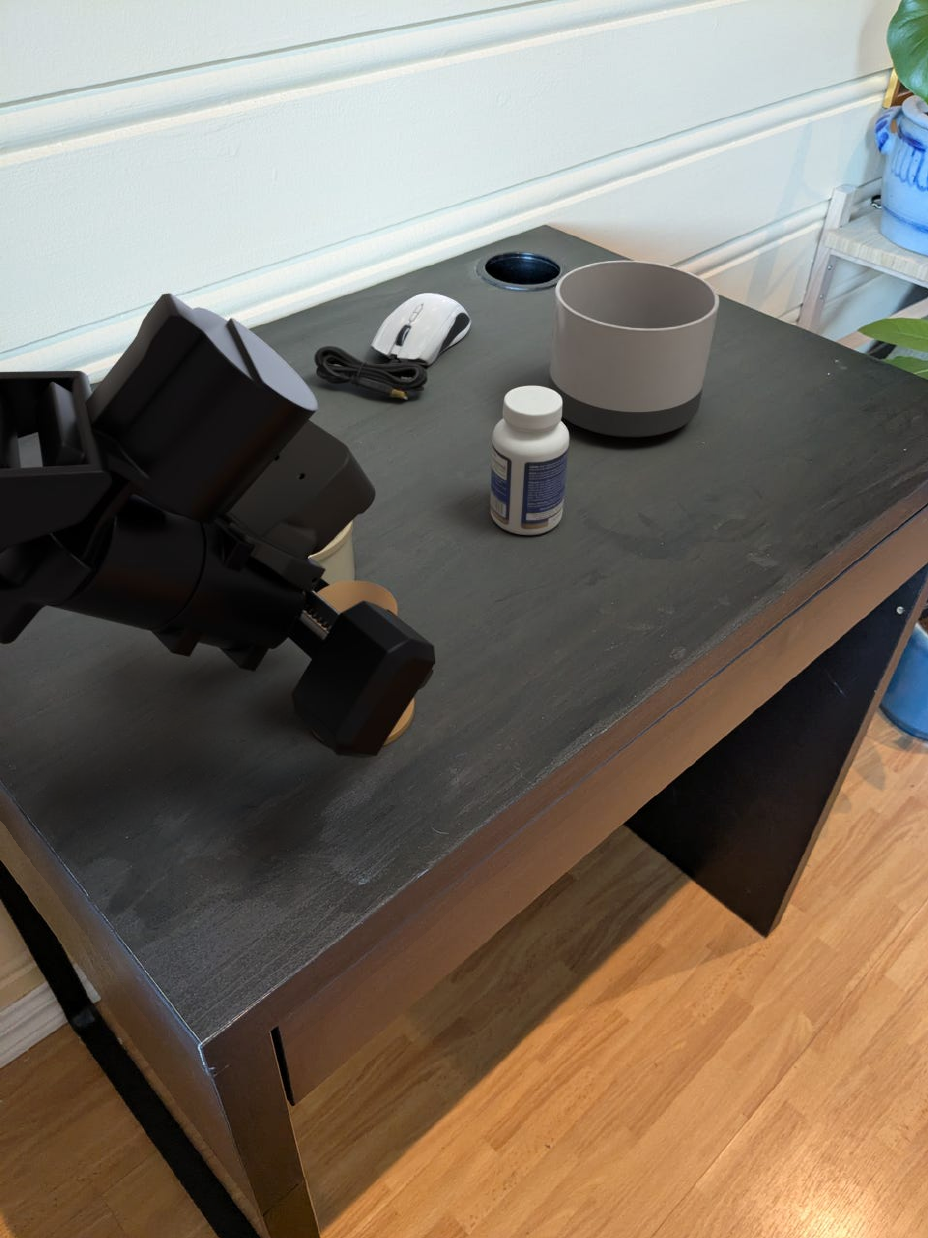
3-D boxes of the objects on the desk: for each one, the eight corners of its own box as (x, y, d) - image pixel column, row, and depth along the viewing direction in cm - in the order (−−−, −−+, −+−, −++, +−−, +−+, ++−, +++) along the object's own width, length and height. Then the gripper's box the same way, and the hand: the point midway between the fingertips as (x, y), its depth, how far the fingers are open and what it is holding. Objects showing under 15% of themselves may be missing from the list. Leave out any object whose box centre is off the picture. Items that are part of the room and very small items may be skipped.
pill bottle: (570, 502, 73) (581, 387, 66) (551, 544, 69) (561, 426, 62) (502, 488, 74) (506, 374, 67) (480, 528, 70) (483, 411, 64)
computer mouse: (494, 324, 95) (496, 284, 92) (413, 411, 82) (412, 368, 80) (404, 305, 98) (402, 266, 95) (312, 386, 85) (308, 345, 83)
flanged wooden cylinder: (305, 755, 55) (288, 655, 49) (308, 674, 59) (293, 575, 54) (417, 747, 55) (413, 648, 50) (411, 668, 60) (407, 569, 54)
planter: (518, 419, 82) (524, 301, 74) (591, 360, 89) (603, 248, 82) (655, 468, 76) (676, 346, 69) (720, 400, 84) (745, 284, 77)
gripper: (392, 500, 35) (573, 595, 48) (143, 325, 45) (348, 442, 58) (240, 749, 37) (455, 776, 50) (31, 526, 47) (256, 597, 60)
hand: (374, 633), depth 54 cm, fingers open, 9 cm apart
